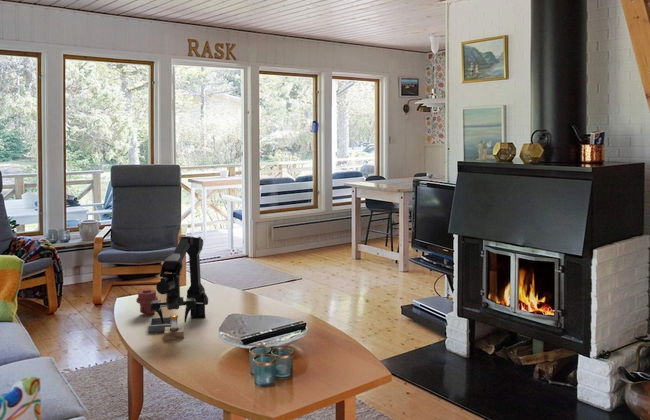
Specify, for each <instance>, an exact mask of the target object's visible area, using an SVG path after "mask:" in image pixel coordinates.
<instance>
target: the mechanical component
mask: <svg viewBox="0 0 650 420" xmlns="http://www.w3.org/2000/svg"><path fill="white" fill-rule="evenodd" d="M154 300H159V297H158V296H157V290H156V289H155V290H154V289H151V288H145V289H142V290H140V291H138V292H137V298H136V300H135V301H136V303H137V304H138V305H139V313H141V314H142V315H143V317H148V316H150V315H151V316H152V315H155V314H156V312H154V310H151V302H152V301H154Z"/></svg>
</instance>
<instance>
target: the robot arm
mask: <svg viewBox="0 0 650 420" xmlns="http://www.w3.org/2000/svg"><path fill="white" fill-rule="evenodd" d="M203 247H204V239H203V238H202V237H201V236H191V235H182V236H180V239H179V242H178V244H177V245H176V247H175V249H174V251H173V252H172V254H171V255H168V256H167V257H166V258H165V259H164V261H163V262H162V265H161V268H160V273H159V277H160V281H158V282H157V284H156V286H155V290H156V292H157V293H158V294H160V295H166V298H165V301H164V302H163V301H162V302H161V299H158V300H154V301H152V302H151V310H154V312H155V313H157V315H158V316H159V317H160V318H161V321H162V324H164V319H163V317H164V314H163V308H164V307H166V308H167V310H168V311H171V310H179V309H180V307H181V306H185V309H184V310H185V311H184V318H183V319H184V323H186V322H187V319H188V315H189V314H190V317H191V319H204V318H206V306H207V305H209V297H208V296H207V294H206V290H205V287H204V286H203V285H202V281H201V278H202V277H201V260H200V258H201V257H200V255H201V252H202V250H203ZM186 254H187V255H188V259H189V277H190V278H189V280H190V286H189V287H188V289H187V290H186V299H185V300H184V297H183V296H181V289H180V288H181V286H180V280H181V278H180V276H181V275H182V274H181V273H182V270H183V262H182V261H183V259H184V258H185V256H186ZM162 307H163V308H162ZM189 312H190V313H189Z"/></svg>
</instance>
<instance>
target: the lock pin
mask: <svg viewBox="0 0 650 420" xmlns="http://www.w3.org/2000/svg"><path fill="white" fill-rule="evenodd" d="M169 317H170V319H171V331H178V326H179V325H178V318H179V315H178V314H171V315H169Z"/></svg>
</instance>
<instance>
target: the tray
mask: <svg viewBox="0 0 650 420" xmlns="http://www.w3.org/2000/svg"><path fill="white" fill-rule="evenodd" d="M163 319H164V324H162V321H161V318H160V316H159V317H149V323H148V332H149V333H151V334H152V333H162V332H164V333H165V327H171V319H170V316H163Z"/></svg>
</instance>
